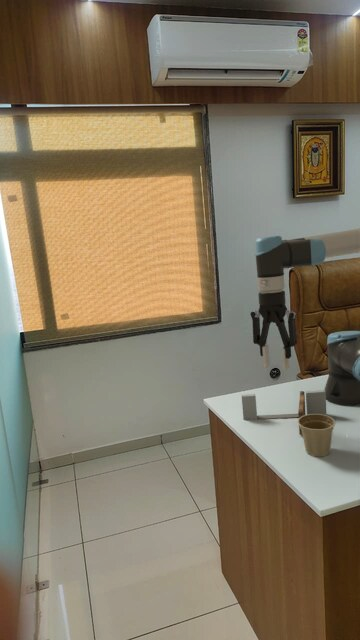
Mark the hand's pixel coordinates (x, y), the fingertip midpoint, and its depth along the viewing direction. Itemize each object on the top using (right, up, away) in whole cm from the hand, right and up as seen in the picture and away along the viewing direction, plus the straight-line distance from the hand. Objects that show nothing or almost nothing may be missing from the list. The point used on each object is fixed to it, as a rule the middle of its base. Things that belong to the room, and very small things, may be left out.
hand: (276, 367), depth 124 cm
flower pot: (+8, -21, -13) cm, 26 cm away
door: (+9, -18, +2) cm, 20 cm away
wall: (+5, -17, +9) cm, 20 cm away
